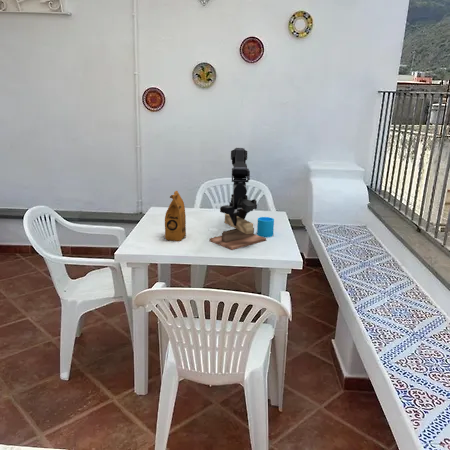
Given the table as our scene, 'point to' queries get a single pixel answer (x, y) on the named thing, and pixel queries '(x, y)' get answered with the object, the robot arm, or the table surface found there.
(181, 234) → the coffee package
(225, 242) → the fulcrum stand
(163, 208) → the table surface
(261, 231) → the mug
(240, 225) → the oak bar
